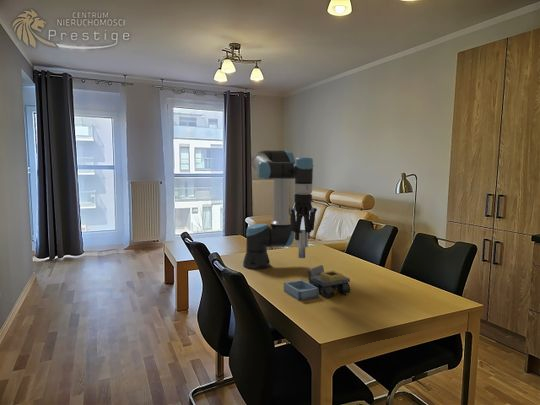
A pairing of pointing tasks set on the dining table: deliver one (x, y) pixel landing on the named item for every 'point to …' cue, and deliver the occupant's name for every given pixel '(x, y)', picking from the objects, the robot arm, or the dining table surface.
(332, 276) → the trolley
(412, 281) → the dining table surface
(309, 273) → the electrical switch
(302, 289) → the tray
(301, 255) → the pin
